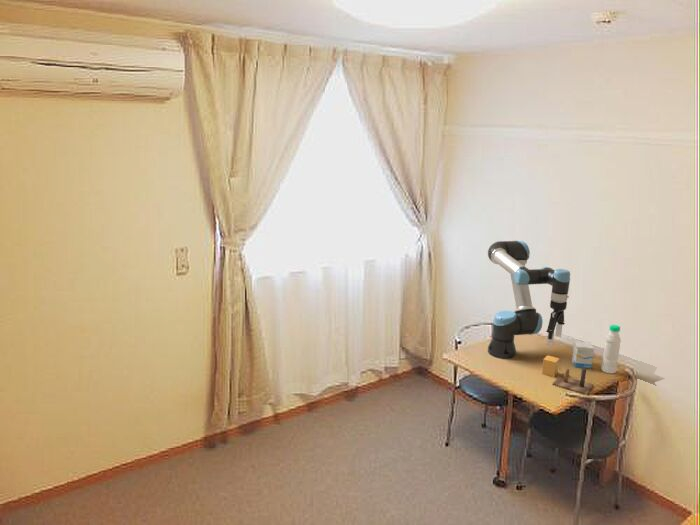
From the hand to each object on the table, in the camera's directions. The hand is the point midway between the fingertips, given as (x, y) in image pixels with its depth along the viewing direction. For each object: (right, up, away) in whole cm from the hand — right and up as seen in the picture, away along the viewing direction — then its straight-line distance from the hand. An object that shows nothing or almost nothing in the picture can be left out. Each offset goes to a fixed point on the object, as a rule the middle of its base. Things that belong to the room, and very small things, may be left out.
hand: (554, 340), depth 262 cm
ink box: (+20, -15, +15) cm, 30 cm away
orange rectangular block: (0, -17, +5) cm, 18 cm away
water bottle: (+31, -17, +8) cm, 37 cm away
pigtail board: (+6, -21, -8) cm, 23 cm away
